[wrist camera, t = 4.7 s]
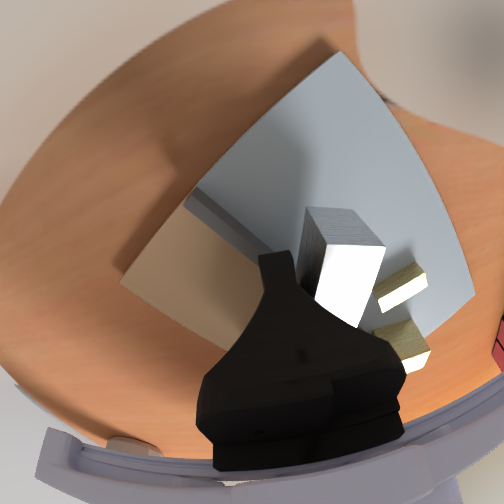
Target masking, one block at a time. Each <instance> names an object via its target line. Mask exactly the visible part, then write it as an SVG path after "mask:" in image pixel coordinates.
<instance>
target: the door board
mask: <svg viewBox="0 0 504 504" xmlns="http://www.w3.org/2000/svg"><path fill="white" fill-rule="evenodd" d="M306 206H315V207H329V208H341V209H353V210H354V211H355V212H356V213H357V214H358V215H359V216H360V218H361V219H362V220H363V221H364V222H365V223H366V224H367V225H368V227H369V228H370V229H371V230H372V231H373V232H374V233H375V235H376V236H377V237H378V238H379V239H380V240H381V242H382V243H383V244H384V245H385V246H386V248H385V252H384V255H383V258H382V261H381V264H380V267H379V270H378V273H377V276H376V278H375V281H374V284H373V285H375V284H377V283H379V282H380V281H382V280H384V279H386V278H387V277H389V276H391V275H393V274H394V273H396V272H398V271H399V270H401V269H403V268H405V267H406V266H408V265H409V264H411V263H413V262H414V261H416V262H417V263H418V265H419V266H420V267H421V268H422V269H423V270H424V272H425V275H426V281H427V287H425V288H424V289H422V290H420V291H419V292H417V293H415V294H414V295H412V296H411V297H409V298H407V299H405V300H404V301H402V302H400V303H399V304H397V305H395V306H393V307H392V308H390V309H388V310H386V311H384V312H382V310H381V308H380V307H379V305H378V303H377V301H376V299H375V297H374V294H373V291H372V290H371V292H370V295H369V298H368V300H367V303H366V305H365V308H364V310H363V313H362V315H361V318H360V320H359V323H358V325H357V327H356V328H358V329H360V330H362V331H364V332H367V333H369V334H372V332H373V329H376V328H380V327H384V326H387V325H391V324H394V323H397V322H401V321H404V320H407V319H410V318H412V319H413V321H414V322H415V324H416V326H417V327H418V329H419V331H420V333H421V334H422V336H423V338H425V337H426V336H428V335H429V334H430V333H432V332H433V331H434V330H435V329H437V328H438V327H439V326H440V325H441V324H443V323H444V322H445V321H446V320H447V319H449V318H450V317H451V316H452V315H453V314H454V313H455V312H457V311H458V310H459V309H460V308H461V307H462V306H463V305H464V304H465V303H467V302H468V301H469V300H470V299H471V298H472V297H473V296H474V295H475V290H474V287H473V283H472V280H471V276H470V273H469V269H468V266H467V263H466V260H465V257H464V254H463V251H462V248H461V246H460V243H459V240H458V238H457V235H456V232H455V230H454V227H453V225H452V222H451V220H450V218H449V215H448V213H447V211H446V208H445V206H444V204H443V202H442V200H441V198H440V195H439V193H438V191H437V189H436V187H435V185H434V183H433V181H432V179H431V177H430V175H429V174H428V172H427V170H426V168H425V166H424V164H423V163H422V161H421V159H420V157H419V156H418V154H417V152H416V150H415V149H414V147H413V145H412V144H411V142H410V141H409V139H408V137H407V136H406V134H405V133H404V131H403V129H402V128H401V126H400V125H399V123H398V122H397V120H396V119H395V118H394V116H393V115H392V113H391V112H390V110H389V109H388V108H387V106H386V105H385V103H384V102H383V101H382V99H381V98H380V97H379V95H378V94H377V93H376V92H375V90H374V89H373V88H372V86H371V85H370V84H369V83H368V81H367V80H366V79H365V78H364V77H363V75H362V74H361V73H360V72H359V71H358V70H357V68H356V67H355V66H354V65H353V64H352V63H351V62H350V60H349V59H348V58H347V57H346V56H345V55H344V54H343V53H342V52H341V51H339V52H336V53H334V54H333V55H332V56H331V57H329V58H328V59H327V60H325V61H324V62H323V63H322V64H321V65H319V66H318V67H317V68H316V69H314V70H313V71H312V72H311V73H310V74H308V75H307V76H306V77H305V78H304V79H303V80H301V81H300V82H299V83H298V84H297V85H296V86H294V87H293V88H292V89H291V90H290V91H289V92H288V93H287V94H285V95H284V96H283V97H282V98H281V99H280V100H279V101H278V102H277V103H275V104H274V105H273V106H272V107H271V108H270V109H269V110H268V111H267V112H266V113H265V114H264V115H263V116H262V117H261V118H260V119H258V120H257V121H256V122H255V123H254V124H253V125H252V126H251V127H250V128H249V129H248V130H247V131H246V132H245V133H244V134H243V135H242V136H241V137H240V138H239V139H238V140H237V141H236V142H235V143H234V144H233V145H232V146H231V147H230V148H229V149H228V150H227V151H226V153H225V154H224V155H223V156H222V157H221V158H220V159H219V160H218V161H217V162H216V163H215V164H214V165H213V166H212V167H211V168H210V170H209V171H208V172H207V173H206V174H205V175H204V176H203V177H202V178H201V179H200V181H199V182H198V183H197V184H196V185H195V186H194V187H193V188H192V190H191V191H190V192H189V193H188V194H187V195H186V196H185V198H184V199H183V200H182V201H181V202H180V203H179V205H178V206H177V207H176V208H175V209H174V210H173V212H172V213H171V214H170V215H169V216H168V218H167V219H166V220H165V221H164V223H163V224H162V225H161V226H160V227H159V229H158V230H157V231H156V232H155V234H154V235H153V236H152V238H151V239H150V240H149V241H148V243H147V244H146V245H145V246H144V248H143V249H142V250H141V252H140V253H139V254H138V256H137V257H136V258H135V260H134V261H133V262H132V264H131V265H130V266H129V268H128V269H127V270H126V272H125V273H124V274H123V276H122V278H121V280H120V282H119V284H121V285H122V286H123V287H125V288H126V289H128V290H129V291H130V292H132V293H133V294H135V295H136V296H138V297H139V298H140V299H142V300H143V301H145V302H146V303H148V304H149V305H151V306H152V307H154V308H155V309H157V310H158V311H160V312H162V313H163V314H165V315H166V316H168V317H169V318H171V319H173V320H174V321H176V322H177V323H179V324H181V325H182V326H184V327H185V328H187V329H189V330H190V331H192V332H194V333H195V334H197V335H199V336H200V337H202V338H204V339H206V340H207V341H209V342H211V343H213V344H214V345H216V346H218V347H220V348H221V349H223V350H225V351H227V352H228V351H229V349H230V348H231V347H232V346H233V344H234V343H235V342H236V341H237V339H238V338H239V337H240V335H241V334H242V332H243V331H244V329H245V328H246V326H247V325H248V323H249V321H250V320H251V318H252V316H253V315H254V313H255V311H256V309H257V307H258V305H259V303H260V300H261V298H262V295H263V293H264V289H263V284H262V279H261V274H260V269H259V264H258V255H262V254H268V253H274V252H279V251H285V250H290V252H291V254H292V256H293V260H294V267H295V271H296V265H297V259H298V253H299V247H300V241H301V234H302V228H303V221H304V214H305V207H306Z"/></svg>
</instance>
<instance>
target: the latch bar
mask: <svg viewBox="0 0 504 504" xmlns="http://www.w3.org/2000/svg"><path fill="white" fill-rule="evenodd" d="M385 248H386V246H385V245H384V244H383V243H382V242H381V240H380V239H379V238H378V237H377V236H376V235H375V233H374V232H373V231H372V230H371V229H370V228H369V227H368V225H367V224H366V223H365V222H364V221H363V220H362V219H361V218H360V216H359V215H358V214H357V213H356V212H355V211H354V210H353V209H341V208H329V207H315V206H306V207H305V214H304V221H303V228H302V234H301V241H300V247H299V253H298V259H297V265H296V271H295V273H296V280H297V283H298V284H299V285H300V287H302V288H303V289H304V290H305V291H306V292H307V293H308V294H309V295H310V296H311V297H312V298H313V299H314V300H316V301H317V302H318V303H319V304H321V305H322V306H323V307H324V308H326V309H327V310H329V311H330V312H331V313H333V314H334V315H336V316H338V317H339V318H341V319H342V320H344V321H346V322H347V323H349V324H351V325H353V326H354V327H357V325H358V323H359V320H360V318H361V315H362V313H363V310H364V308H365V305H366V303H367V300H368V298H369V295H370V292H371V290H372V287H373V284H374V281H375V278H376V276H377V273H378V270H379V267H380V264H381V261H382V258H383V255H384V252H385Z"/></svg>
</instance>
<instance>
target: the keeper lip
mask: <svg viewBox="0 0 504 504" xmlns="http://www.w3.org/2000/svg"><path fill="white" fill-rule="evenodd" d="M425 287H427V281H426V275H425V272H424V270H423V269H422V268H421V267H420V266H419V265H418V263H417V262H416V261H414V262H413V263H411V264H409V265H408V266H406V267H405V268H403V269H401V270H399V271H398V272H396V273H394V274H393V275H391V276H389V277H387V278H386V279H384V280H382V281H380V282H379V283H377V284H375V285H373V287H372V291H373V294H374V297H375V299H376V301H377V303H378V305H379V307H380V308H381V310H382V312H384V311H386V310H388V309H390V308H392V307H393V306H395V305H397V304H399V303H400V302H402V301H404V300H405V299H407V298H409V297H411V296H412V295H414V294H415V293H417V292H419V291H420V290H422V289H424V288H425Z"/></svg>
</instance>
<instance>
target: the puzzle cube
mask: <svg viewBox="0 0 504 504" xmlns="http://www.w3.org/2000/svg"><path fill="white" fill-rule="evenodd" d="M492 356H493V358H494V360H495V361H496V363H497V365H498V366H499V368H500V370H501V371H502V372H503V371H504V316H503V317H502V320H501V324H500V328H499V332H498V336H497V339H496V343H495V346H494V349H493V352H492Z"/></svg>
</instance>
